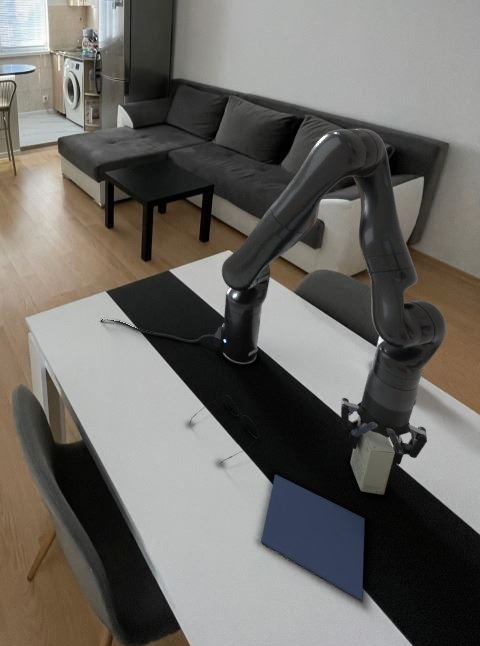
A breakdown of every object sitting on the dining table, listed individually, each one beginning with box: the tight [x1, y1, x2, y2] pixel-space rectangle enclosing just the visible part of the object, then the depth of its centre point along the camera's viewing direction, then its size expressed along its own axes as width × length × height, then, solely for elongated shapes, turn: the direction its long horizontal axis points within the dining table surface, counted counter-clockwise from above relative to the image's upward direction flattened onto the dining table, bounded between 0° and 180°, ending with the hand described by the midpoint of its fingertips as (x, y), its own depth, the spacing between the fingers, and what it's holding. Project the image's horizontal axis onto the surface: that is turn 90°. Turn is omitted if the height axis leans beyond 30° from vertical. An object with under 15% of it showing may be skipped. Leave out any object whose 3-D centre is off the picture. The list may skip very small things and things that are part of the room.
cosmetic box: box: [349, 431, 395, 495], centre depth 87 cm, size 6×4×12 cm
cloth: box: [260, 474, 366, 602], centre depth 81 cm, size 16×14×1 cm
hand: (372, 452), depth 86 cm, fingers open, 6 cm apart
